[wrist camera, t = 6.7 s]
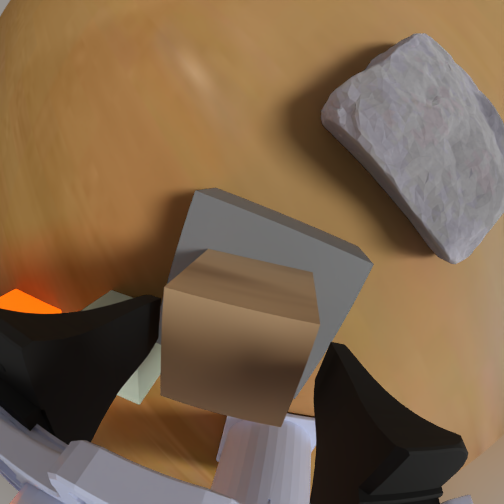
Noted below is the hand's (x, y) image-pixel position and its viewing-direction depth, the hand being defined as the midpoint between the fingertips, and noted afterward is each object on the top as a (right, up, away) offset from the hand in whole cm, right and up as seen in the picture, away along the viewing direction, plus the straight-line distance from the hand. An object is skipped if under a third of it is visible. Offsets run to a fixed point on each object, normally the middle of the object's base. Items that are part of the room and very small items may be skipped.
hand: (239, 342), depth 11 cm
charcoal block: (+1, +2, +7) cm, 7 cm away
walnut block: (0, +1, +3) cm, 3 cm away
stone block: (+11, +11, +3) cm, 16 cm away
